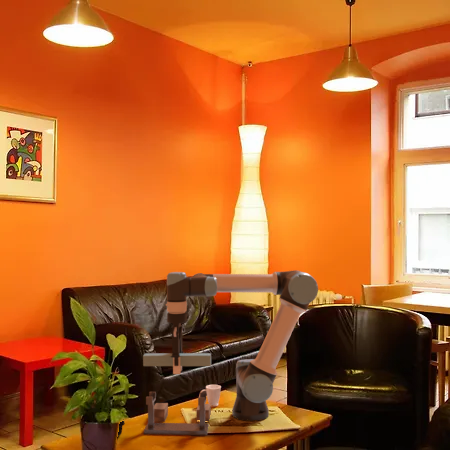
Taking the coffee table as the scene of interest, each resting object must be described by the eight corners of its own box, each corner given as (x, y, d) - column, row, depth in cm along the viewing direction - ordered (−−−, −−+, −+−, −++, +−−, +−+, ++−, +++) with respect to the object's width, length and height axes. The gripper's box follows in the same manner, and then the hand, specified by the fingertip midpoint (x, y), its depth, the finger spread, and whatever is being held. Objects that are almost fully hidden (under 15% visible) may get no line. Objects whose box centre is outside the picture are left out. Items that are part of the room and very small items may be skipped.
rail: (211, 363, 227) (211, 353, 227) (210, 366, 223) (210, 355, 223) (145, 363, 228) (145, 353, 228) (143, 366, 224) (143, 355, 224)
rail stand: (208, 427, 227) (208, 392, 227) (206, 435, 219) (206, 398, 219) (148, 426, 229) (147, 391, 229) (143, 434, 221) (143, 397, 221)
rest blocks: (210, 415, 241) (210, 403, 241) (208, 422, 233) (208, 410, 233) (156, 414, 243) (156, 402, 243) (152, 421, 235) (152, 409, 235)
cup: (223, 406, 254) (223, 388, 254) (201, 408, 250) (201, 390, 250) (218, 401, 260) (218, 383, 260) (197, 404, 257) (197, 385, 257)
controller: (117, 430, 225) (117, 404, 225) (125, 441, 214) (125, 414, 214) (106, 432, 223) (106, 406, 223) (114, 443, 212) (114, 415, 212)
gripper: (170, 308, 234) (171, 366, 234) (163, 315, 217) (164, 378, 217) (188, 308, 234) (189, 366, 234) (183, 315, 217) (184, 378, 217)
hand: (177, 372), depth 225 cm, fingers closed on rail, 4 cm apart
